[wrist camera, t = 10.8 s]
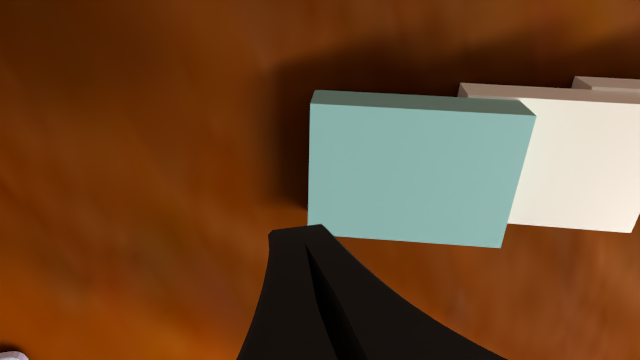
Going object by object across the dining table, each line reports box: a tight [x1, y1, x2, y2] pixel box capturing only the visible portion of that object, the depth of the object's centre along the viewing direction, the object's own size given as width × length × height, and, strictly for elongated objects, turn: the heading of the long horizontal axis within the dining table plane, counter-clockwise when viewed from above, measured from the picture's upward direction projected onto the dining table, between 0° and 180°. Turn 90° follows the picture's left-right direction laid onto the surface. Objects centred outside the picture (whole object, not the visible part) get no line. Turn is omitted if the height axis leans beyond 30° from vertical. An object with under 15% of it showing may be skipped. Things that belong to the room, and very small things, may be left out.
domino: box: [458, 83, 640, 233], centre depth 16 cm, size 5×2×7 cm
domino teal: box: [308, 90, 537, 248], centre depth 15 cm, size 5×2×7 cm
